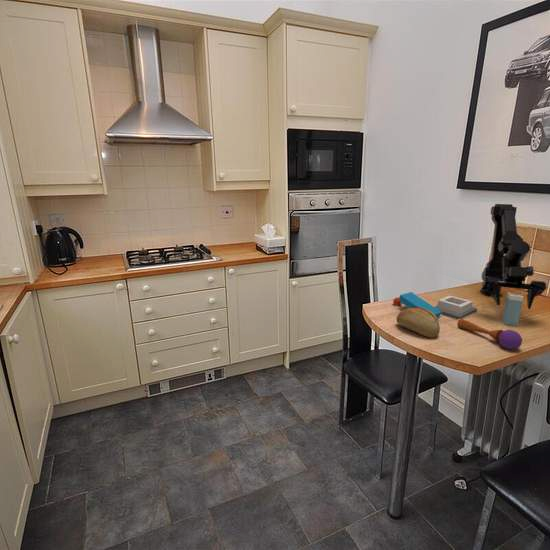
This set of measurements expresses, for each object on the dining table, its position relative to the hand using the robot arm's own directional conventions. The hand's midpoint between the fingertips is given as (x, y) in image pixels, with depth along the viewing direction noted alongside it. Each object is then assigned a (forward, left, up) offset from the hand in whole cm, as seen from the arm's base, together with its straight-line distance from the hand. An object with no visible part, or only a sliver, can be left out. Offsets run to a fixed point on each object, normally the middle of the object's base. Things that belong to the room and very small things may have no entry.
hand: (513, 306), depth 126 cm
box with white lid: (0, -1, -7) cm, 7 cm away
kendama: (+14, +11, -7) cm, 20 cm away
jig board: (+14, -13, -7) cm, 20 cm away
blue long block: (+30, -13, -7) cm, 33 cm away
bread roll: (+35, +5, -7) cm, 36 cm away
